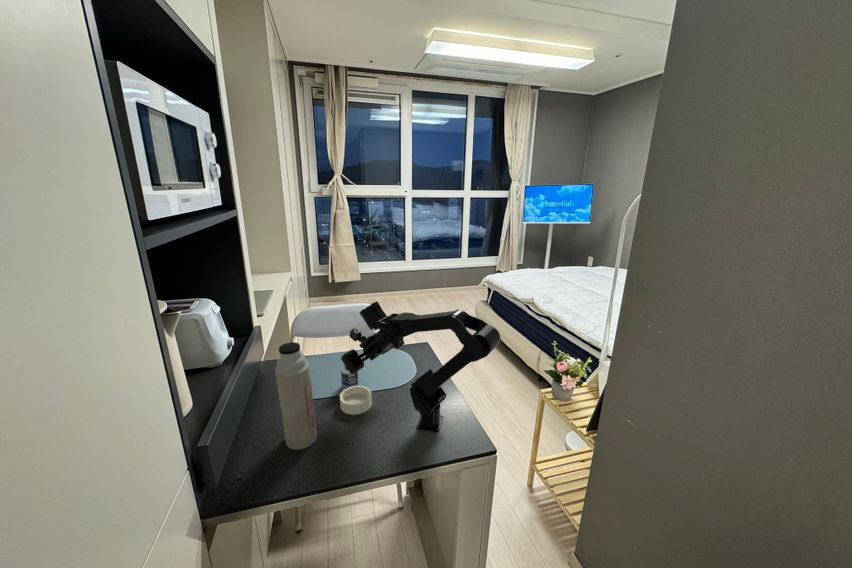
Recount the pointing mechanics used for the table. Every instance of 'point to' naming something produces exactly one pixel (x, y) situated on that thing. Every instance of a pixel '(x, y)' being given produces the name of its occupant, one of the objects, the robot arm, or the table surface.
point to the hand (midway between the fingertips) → (356, 362)
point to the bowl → (355, 400)
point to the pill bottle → (348, 378)
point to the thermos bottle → (295, 397)
